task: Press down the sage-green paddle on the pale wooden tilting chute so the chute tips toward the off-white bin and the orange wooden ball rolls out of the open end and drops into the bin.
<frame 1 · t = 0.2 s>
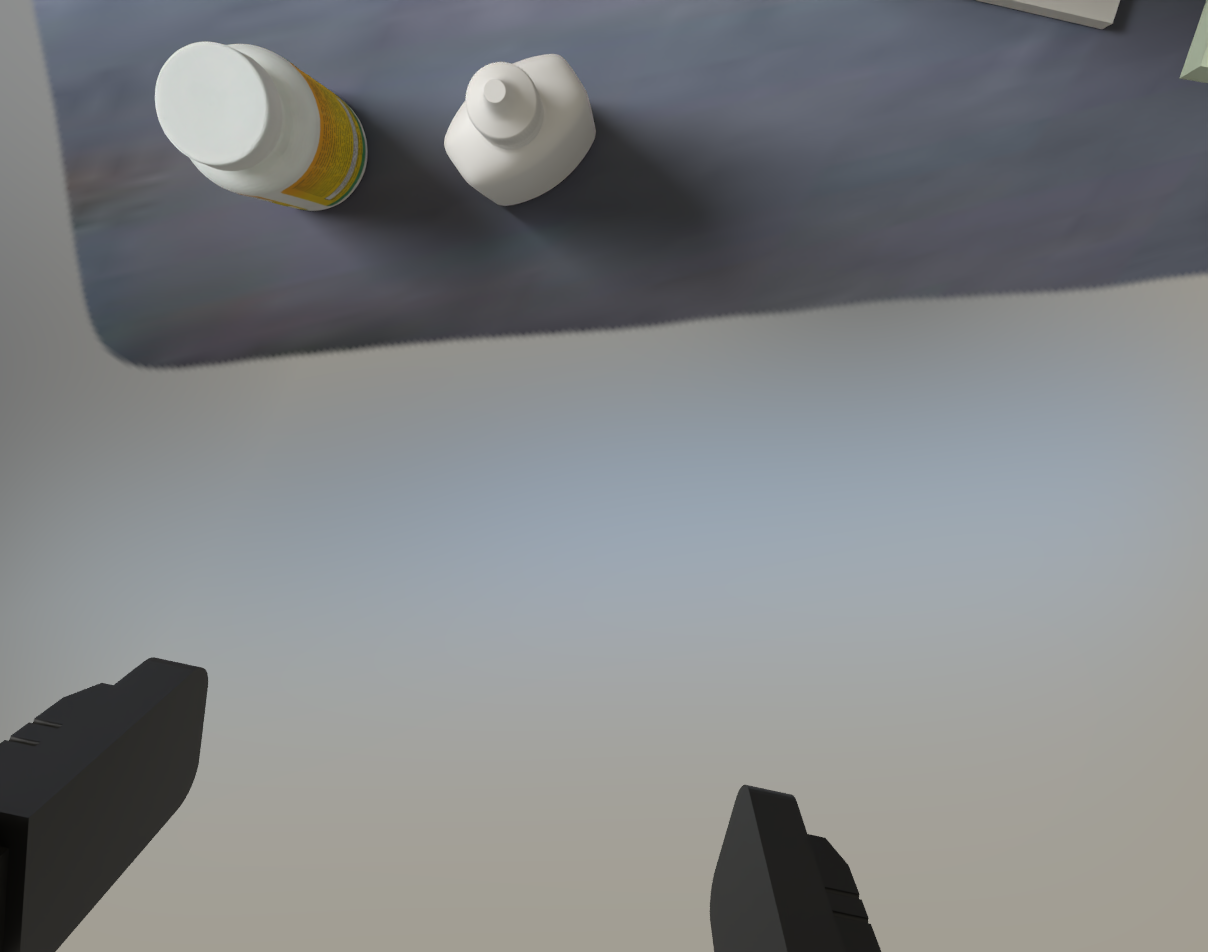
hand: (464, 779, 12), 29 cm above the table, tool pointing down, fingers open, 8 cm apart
supplement bottle: (314, 151, 38), on the table
eye dropper bottle: (536, 153, 38), on the table
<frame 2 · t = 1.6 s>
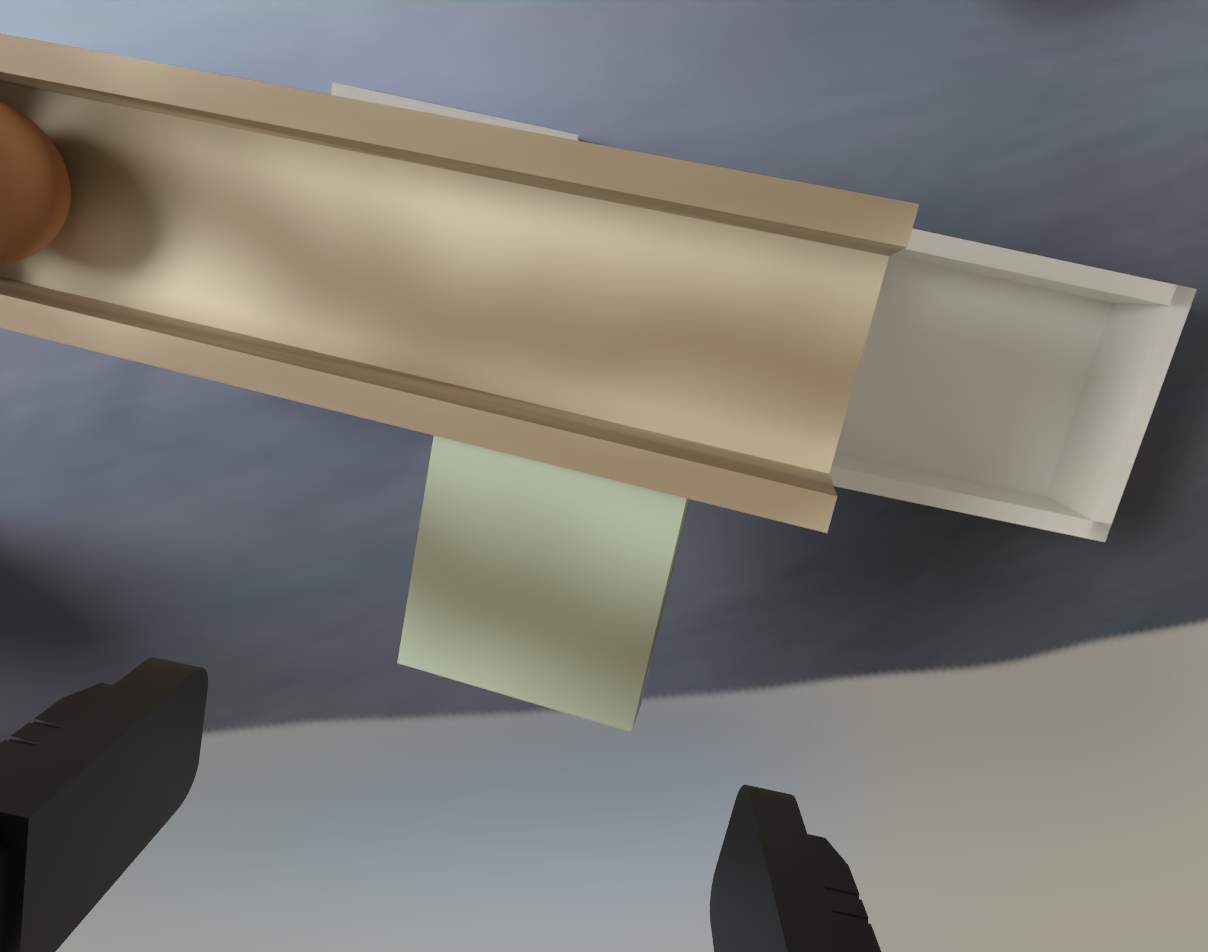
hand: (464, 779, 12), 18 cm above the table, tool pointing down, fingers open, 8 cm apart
bin: (933, 371, 29), on the table
tilting chute: (360, 380, 21), point 8 cm above the table, hinge at 10.0°, touching ball
chute stand: (437, 267, 28), on the table
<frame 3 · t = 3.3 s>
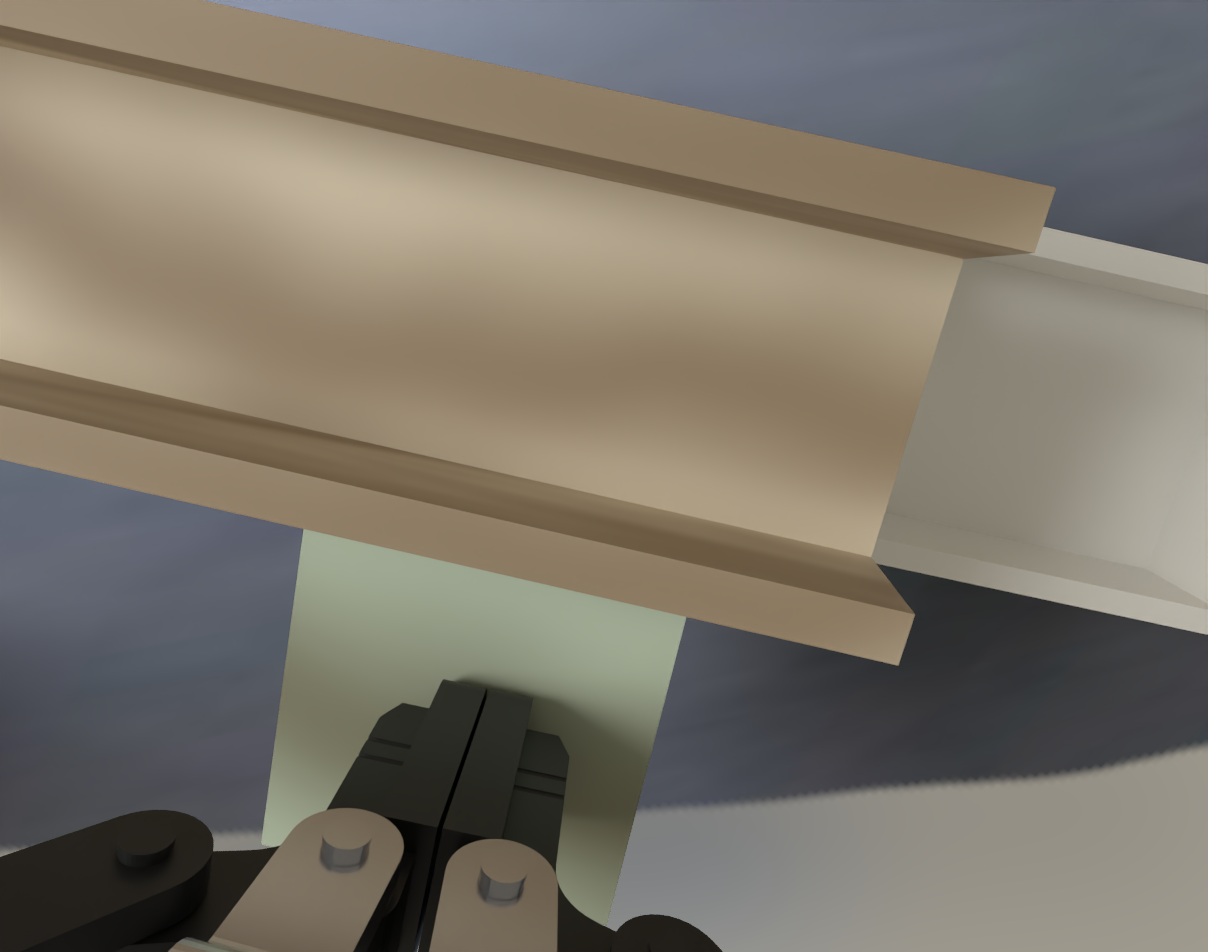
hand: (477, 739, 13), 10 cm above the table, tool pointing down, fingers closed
bin: (1003, 405, 22), on the table
tilting chute: (191, 426, 15), point 8 cm above the table, hinge at 2.6°, touching ball, gripper
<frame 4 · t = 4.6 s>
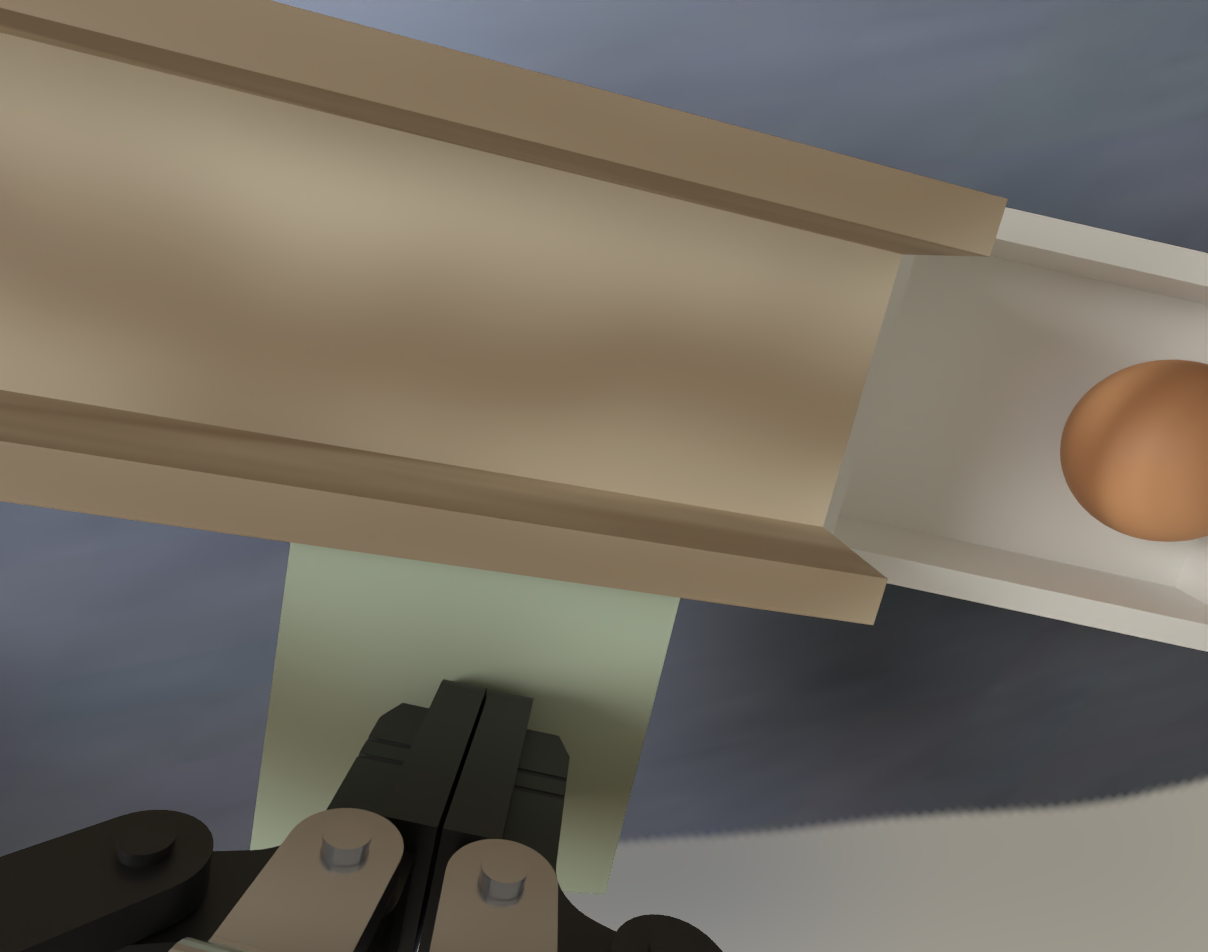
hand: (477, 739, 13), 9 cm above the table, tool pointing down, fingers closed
bin: (1024, 413, 21), on the table
tilting chute: (126, 437, 13), point 8 cm above the table, hinge at -10.5°, touching gripper
ball: (1163, 450, 18), point 2 cm above the table, tilted 165°, touching bin
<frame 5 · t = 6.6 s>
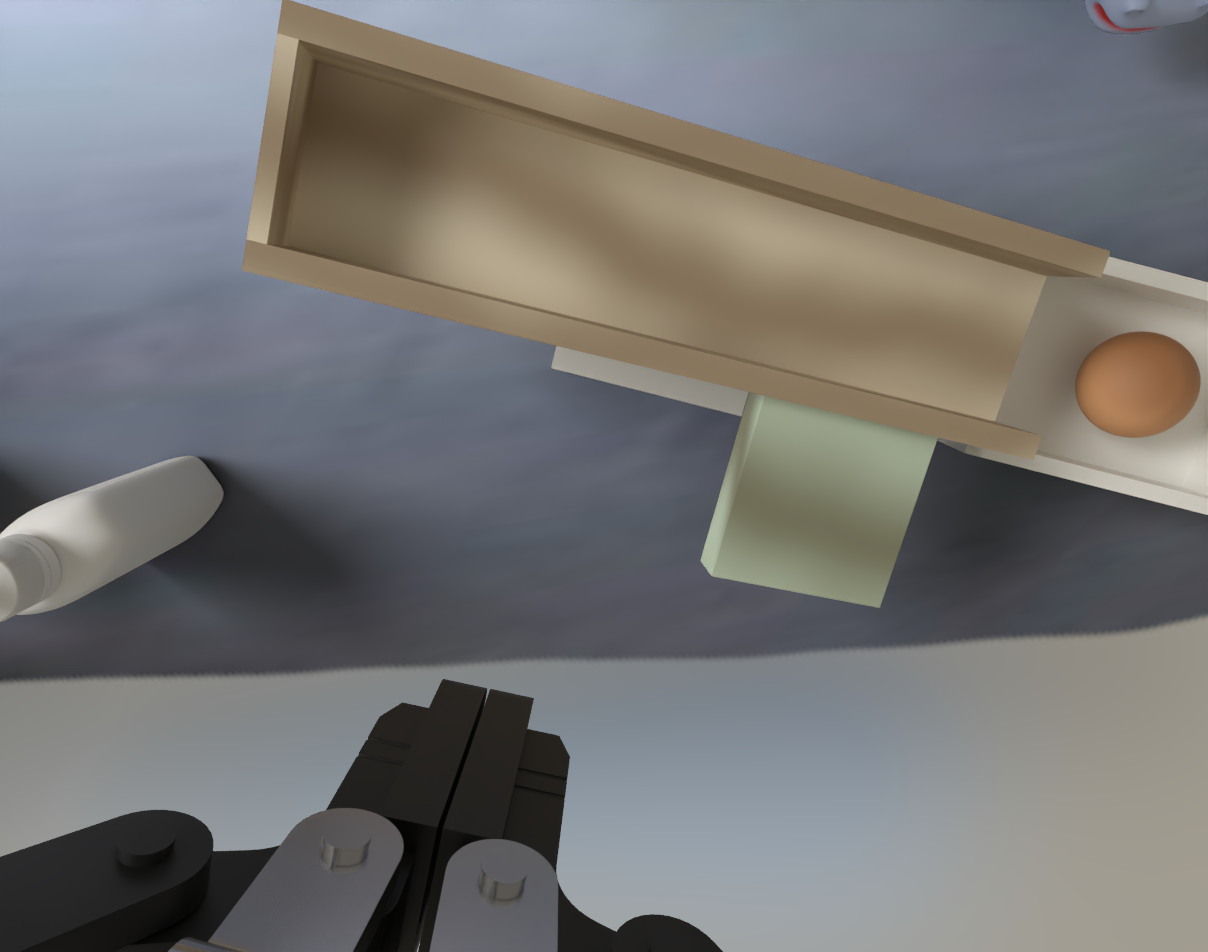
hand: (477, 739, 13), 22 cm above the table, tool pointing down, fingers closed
bin: (1092, 376, 34), on the table
tilting chute: (660, 354, 26), point 8 cm above the table, hinge at -10.5°
chute stand: (677, 270, 33), on the table
eye dropper bottle: (169, 503, 36), on the table
ball: (1135, 384, 31), point 2 cm above the table, tilted 147°, touching bin
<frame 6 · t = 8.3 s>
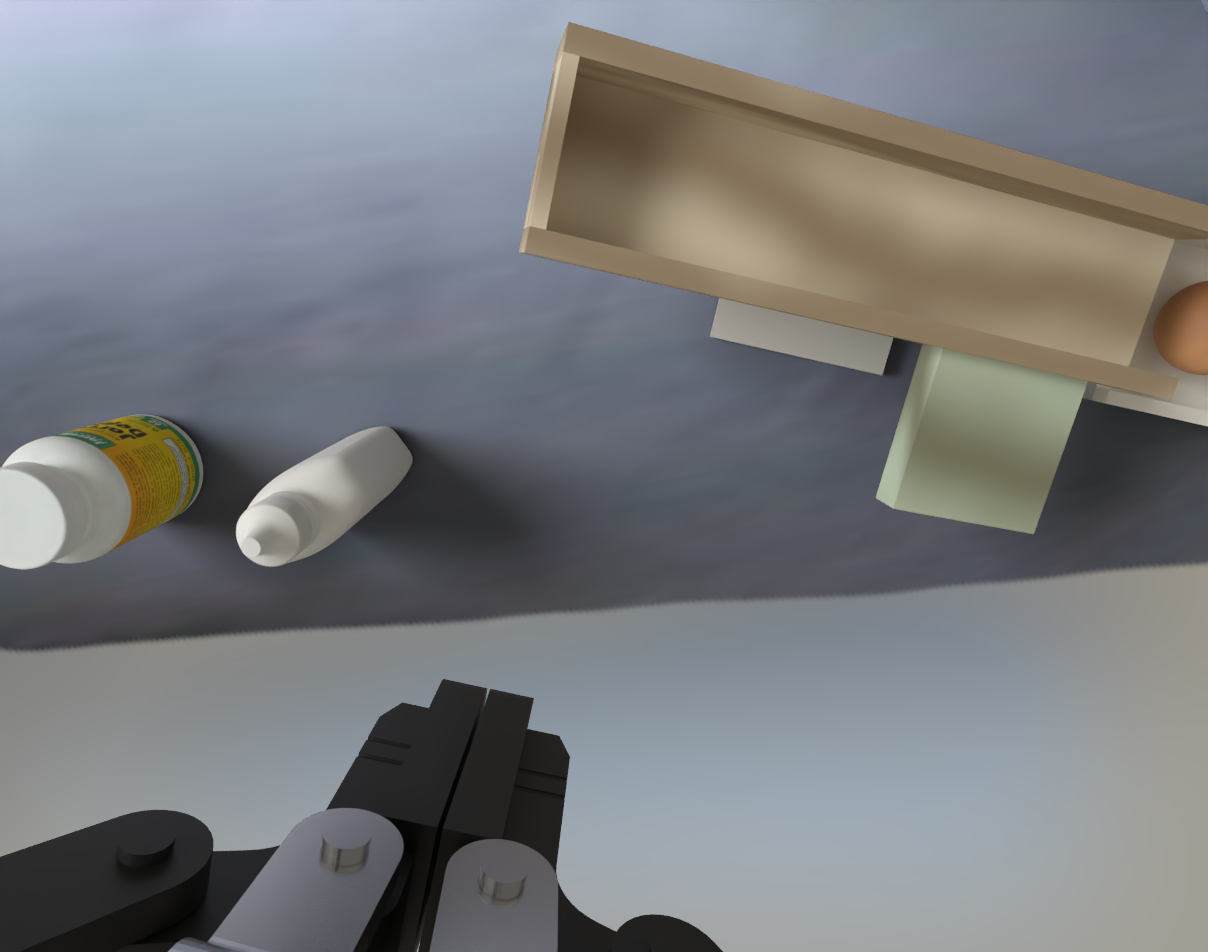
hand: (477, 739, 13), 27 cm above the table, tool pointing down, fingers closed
supplement bottle: (156, 465, 41), on the table
bin: (1196, 330, 38), on the table
tilting chute: (843, 317, 30), point 8 cm above the table, hinge at -10.5°
chute stand: (823, 245, 37), on the table
eye dropper bottle: (361, 470, 40), on the table
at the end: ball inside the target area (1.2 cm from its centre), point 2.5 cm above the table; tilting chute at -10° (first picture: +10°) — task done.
